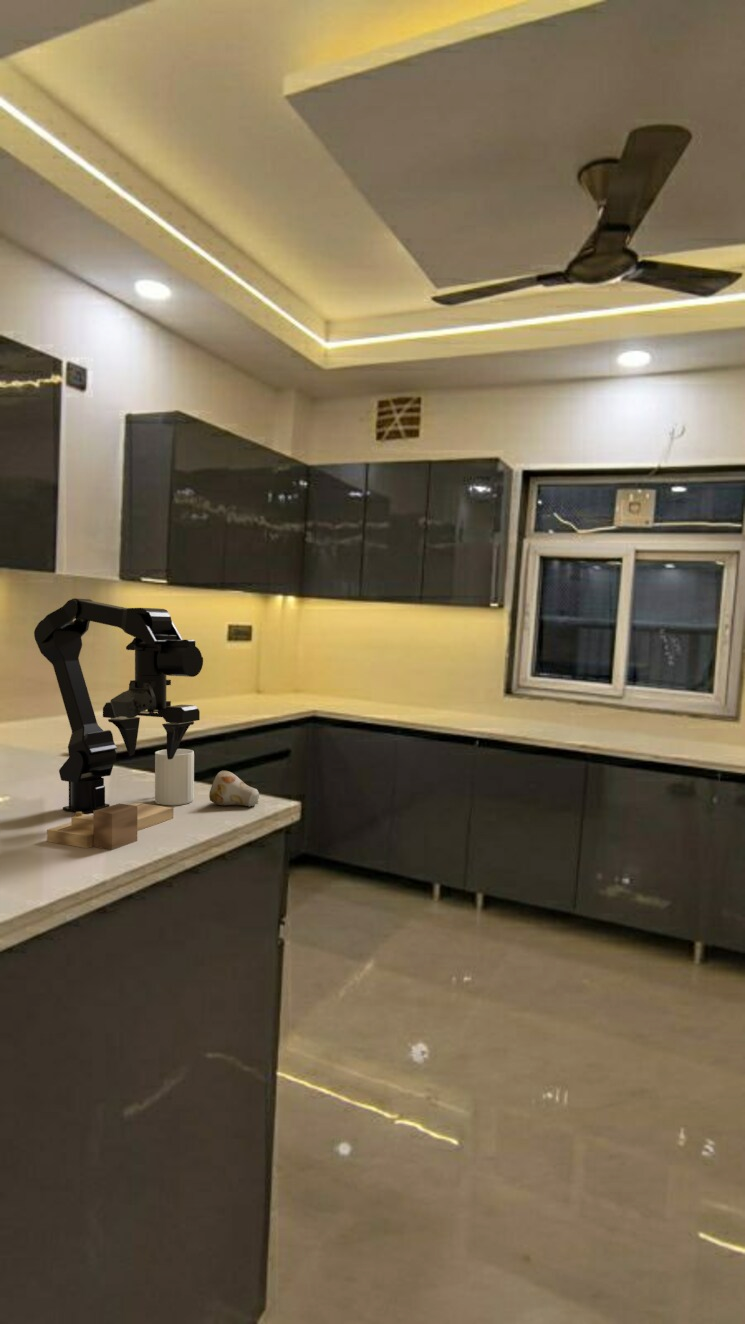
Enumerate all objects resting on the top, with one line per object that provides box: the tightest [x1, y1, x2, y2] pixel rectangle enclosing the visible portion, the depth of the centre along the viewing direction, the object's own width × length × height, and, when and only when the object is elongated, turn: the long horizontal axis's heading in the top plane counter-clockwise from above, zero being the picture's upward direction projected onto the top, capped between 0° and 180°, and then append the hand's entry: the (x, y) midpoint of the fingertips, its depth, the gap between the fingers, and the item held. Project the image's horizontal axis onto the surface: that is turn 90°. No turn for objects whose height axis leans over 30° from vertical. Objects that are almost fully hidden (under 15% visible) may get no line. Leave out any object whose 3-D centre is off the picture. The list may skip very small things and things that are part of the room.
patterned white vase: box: [208, 770, 260, 807], centre depth 155 cm, size 8×10×10 cm
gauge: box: [70, 803, 138, 851], centre depth 127 cm, size 11×6×6 cm, turn 66°
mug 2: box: [154, 748, 195, 806], centre depth 159 cm, size 12×8×10 cm, turn 12°
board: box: [46, 802, 174, 849], centre depth 135 cm, size 9×22×2 cm, turn 156°
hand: (150, 757), depth 141 cm, fingers open, 9 cm apart
